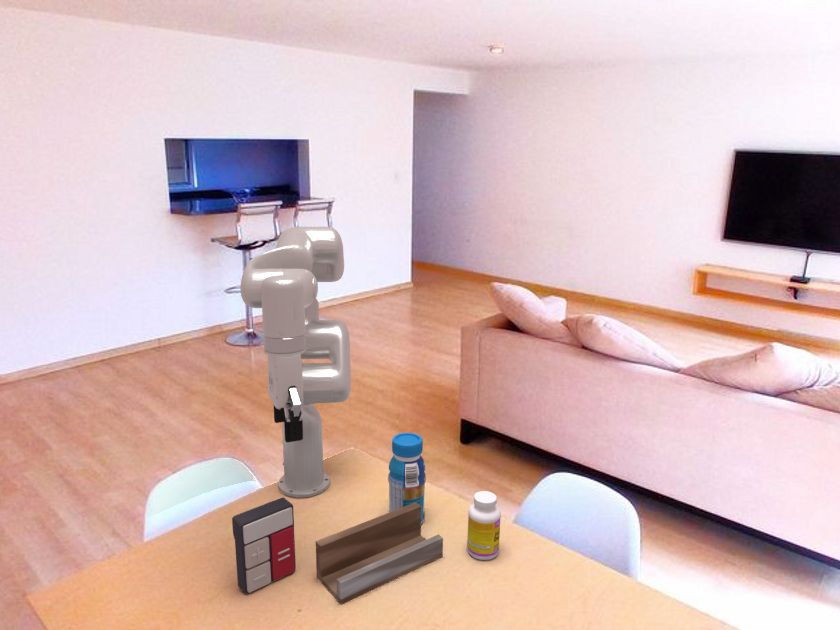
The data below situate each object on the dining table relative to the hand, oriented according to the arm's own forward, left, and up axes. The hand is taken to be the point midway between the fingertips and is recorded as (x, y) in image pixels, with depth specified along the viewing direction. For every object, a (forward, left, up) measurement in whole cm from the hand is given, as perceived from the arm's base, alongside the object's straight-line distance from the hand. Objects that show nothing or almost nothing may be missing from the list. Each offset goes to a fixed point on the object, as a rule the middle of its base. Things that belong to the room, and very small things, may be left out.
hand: (288, 430), depth 119 cm
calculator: (0, -6, -30) cm, 30 cm away
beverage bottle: (-1, +28, -30) cm, 41 cm away
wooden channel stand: (+10, +14, -30) cm, 35 cm away
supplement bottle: (+18, +34, -30) cm, 49 cm away
